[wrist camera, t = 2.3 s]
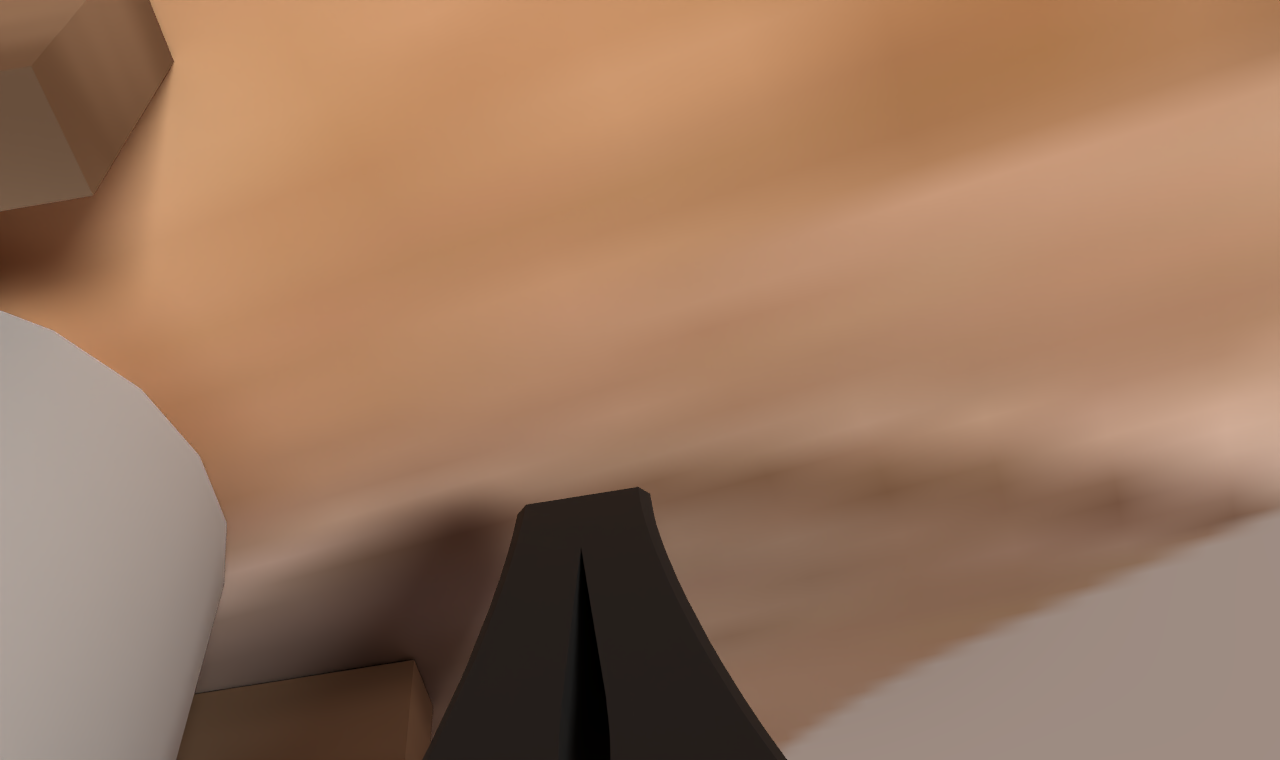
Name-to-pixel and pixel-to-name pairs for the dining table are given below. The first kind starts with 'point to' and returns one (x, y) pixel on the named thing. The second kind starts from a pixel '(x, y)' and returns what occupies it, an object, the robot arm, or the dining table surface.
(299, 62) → the dining table surface
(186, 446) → the can
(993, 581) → the dining table surface
